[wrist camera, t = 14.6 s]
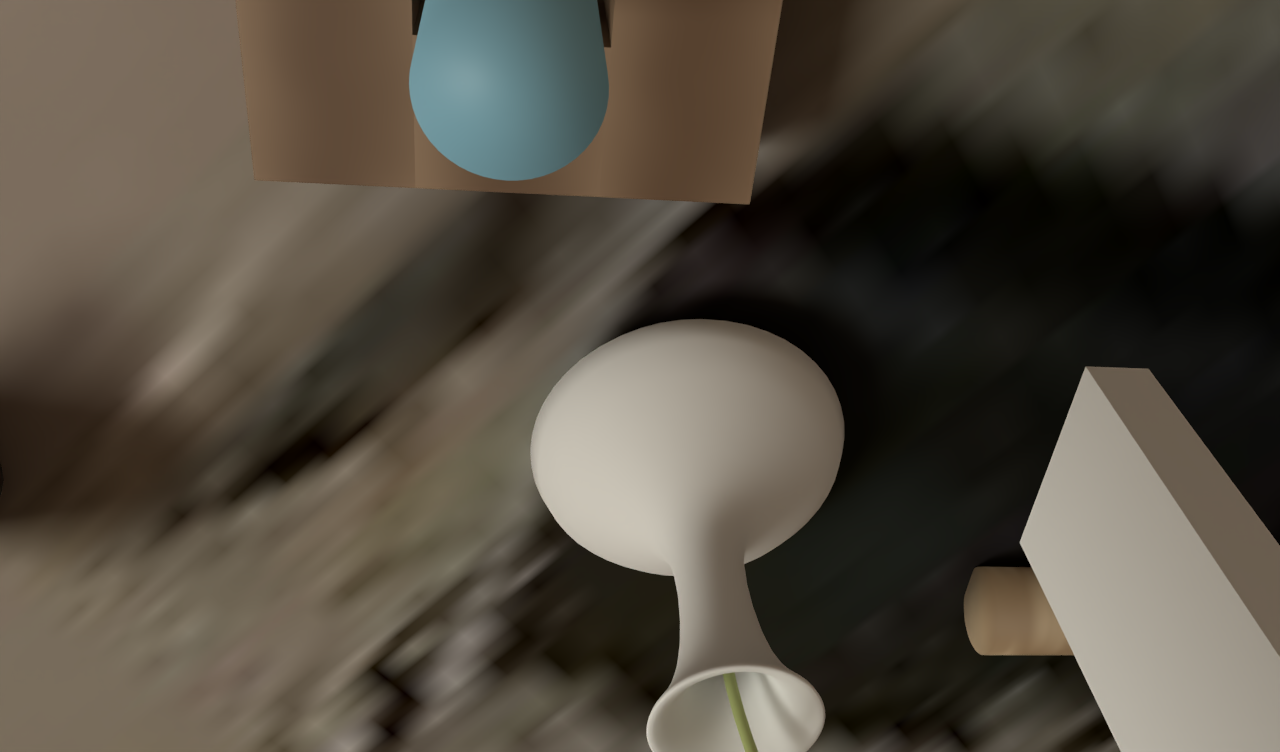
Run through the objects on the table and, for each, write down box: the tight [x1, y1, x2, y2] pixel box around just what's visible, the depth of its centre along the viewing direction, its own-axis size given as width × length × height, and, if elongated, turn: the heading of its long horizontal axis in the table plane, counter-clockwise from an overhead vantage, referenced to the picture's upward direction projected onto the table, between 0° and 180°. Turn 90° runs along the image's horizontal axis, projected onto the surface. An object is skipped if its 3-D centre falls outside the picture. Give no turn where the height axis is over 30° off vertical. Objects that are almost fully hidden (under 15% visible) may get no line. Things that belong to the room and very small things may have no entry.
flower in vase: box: [530, 319, 844, 752], centre depth 34 cm, size 13×11×25 cm
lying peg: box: [964, 567, 1074, 655], centre depth 50 cm, size 12×4×4 cm
